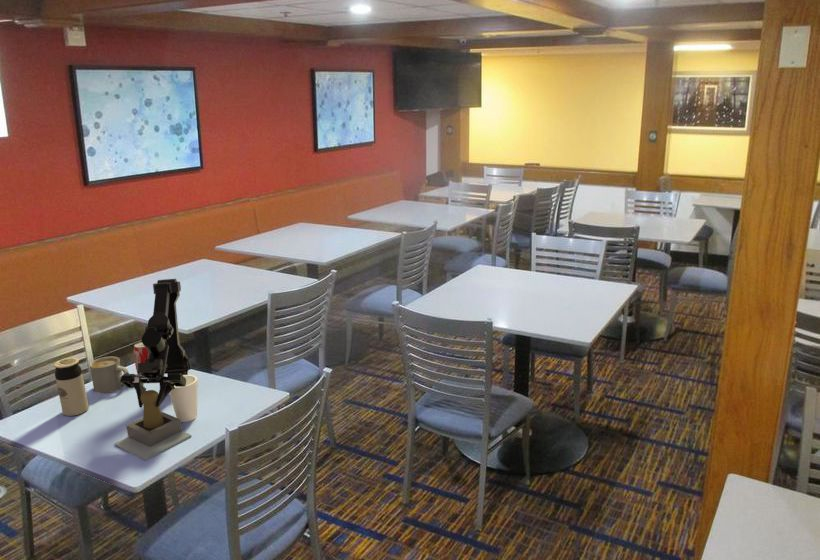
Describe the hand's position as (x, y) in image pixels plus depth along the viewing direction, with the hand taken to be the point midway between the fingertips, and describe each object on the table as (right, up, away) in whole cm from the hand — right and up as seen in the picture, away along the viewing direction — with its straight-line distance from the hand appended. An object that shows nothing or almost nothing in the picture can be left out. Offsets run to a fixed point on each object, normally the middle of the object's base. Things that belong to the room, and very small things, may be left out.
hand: (149, 407), depth 204 cm
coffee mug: (-28, 0, +39) cm, 48 cm away
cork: (0, -6, +3) cm, 7 cm away
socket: (+1, -11, +1) cm, 11 cm away
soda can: (-20, +3, +49) cm, 53 cm away
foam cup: (+7, -6, +15) cm, 18 cm away
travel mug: (-33, -6, +22) cm, 40 cm away
